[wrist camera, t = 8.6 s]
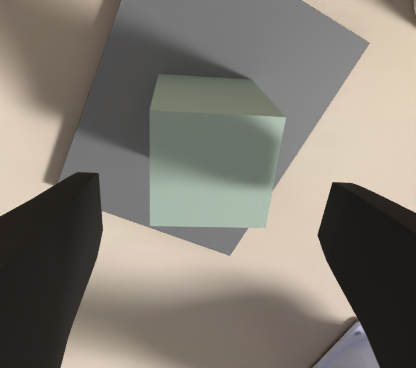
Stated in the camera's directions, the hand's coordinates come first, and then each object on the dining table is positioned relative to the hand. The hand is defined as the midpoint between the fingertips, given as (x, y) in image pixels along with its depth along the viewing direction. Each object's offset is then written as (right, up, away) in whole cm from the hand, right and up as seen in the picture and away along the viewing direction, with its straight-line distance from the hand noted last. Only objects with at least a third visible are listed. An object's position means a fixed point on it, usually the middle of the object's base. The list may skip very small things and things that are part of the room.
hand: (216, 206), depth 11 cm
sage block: (-1, +4, +7) cm, 8 cm away
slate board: (-1, +4, +8) cm, 9 cm away
